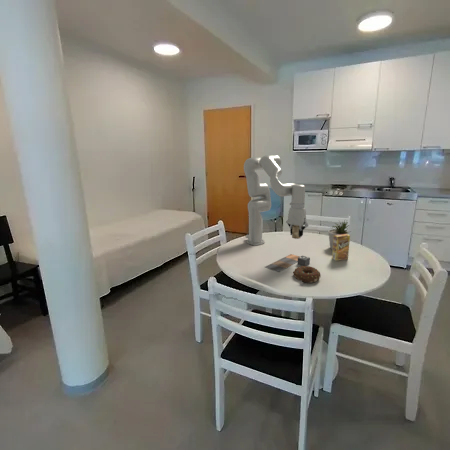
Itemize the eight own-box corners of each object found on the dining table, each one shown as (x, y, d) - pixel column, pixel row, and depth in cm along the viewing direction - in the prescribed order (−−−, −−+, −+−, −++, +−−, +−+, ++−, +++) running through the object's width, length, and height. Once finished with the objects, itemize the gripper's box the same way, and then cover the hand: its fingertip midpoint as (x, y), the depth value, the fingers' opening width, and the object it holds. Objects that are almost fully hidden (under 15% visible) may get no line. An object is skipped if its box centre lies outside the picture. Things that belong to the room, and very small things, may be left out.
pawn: (290, 237, 177) (291, 220, 175) (294, 235, 181) (295, 219, 178) (297, 239, 174) (298, 222, 171) (302, 237, 177) (303, 220, 175)
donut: (297, 271, 164) (298, 262, 163) (322, 276, 158) (323, 267, 156) (289, 281, 153) (289, 272, 151) (316, 287, 146) (316, 277, 144)
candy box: (335, 261, 177) (338, 236, 173) (331, 258, 181) (333, 234, 177) (348, 259, 179) (350, 235, 175) (343, 256, 183) (345, 233, 179)
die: (297, 265, 171) (297, 257, 170) (301, 263, 175) (302, 255, 173) (305, 268, 168) (305, 259, 166) (309, 265, 171) (310, 257, 170)
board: (264, 268, 168) (264, 267, 167) (291, 255, 187) (291, 254, 187) (278, 273, 161) (278, 272, 161) (305, 259, 180) (305, 258, 180)
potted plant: (342, 253, 189) (345, 223, 184) (323, 248, 199) (325, 219, 194) (352, 249, 196) (355, 220, 191) (333, 244, 207) (336, 216, 202)
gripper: (281, 205, 175) (280, 234, 180) (307, 208, 164) (305, 239, 169) (288, 203, 181) (287, 231, 185) (314, 206, 169) (312, 236, 174)
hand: (296, 235), depth 177 cm, fingers closed on pawn, 4 cm apart
